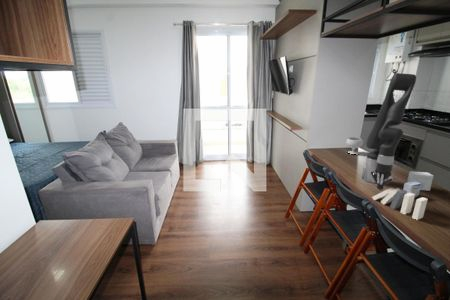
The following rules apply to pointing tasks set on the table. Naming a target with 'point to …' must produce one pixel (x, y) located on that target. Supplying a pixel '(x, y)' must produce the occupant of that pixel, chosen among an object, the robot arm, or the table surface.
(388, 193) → the domino
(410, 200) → the domino
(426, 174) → the skincare box
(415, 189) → the medicine box
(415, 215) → the domino
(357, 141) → the chalice
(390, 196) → the domino
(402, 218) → the table surface
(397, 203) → the domino
